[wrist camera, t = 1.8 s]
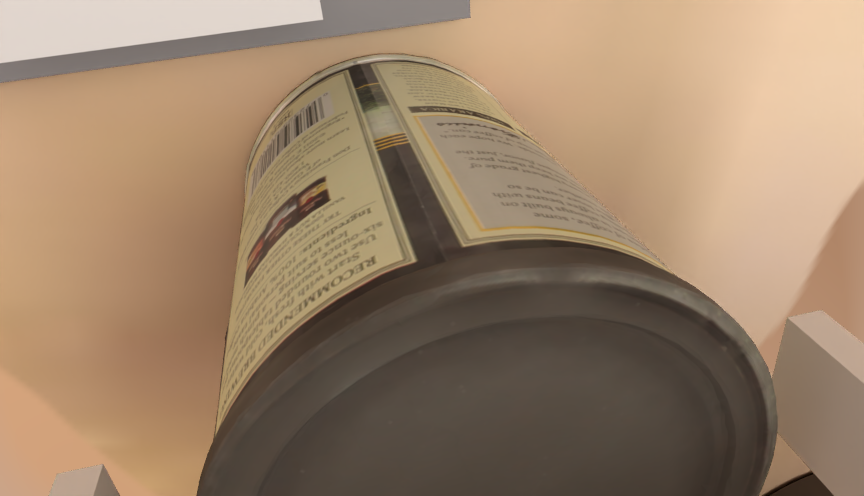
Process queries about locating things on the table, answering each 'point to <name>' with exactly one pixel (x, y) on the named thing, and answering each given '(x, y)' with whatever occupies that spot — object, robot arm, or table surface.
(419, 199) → the coffee can
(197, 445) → the table surface
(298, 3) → the holder
